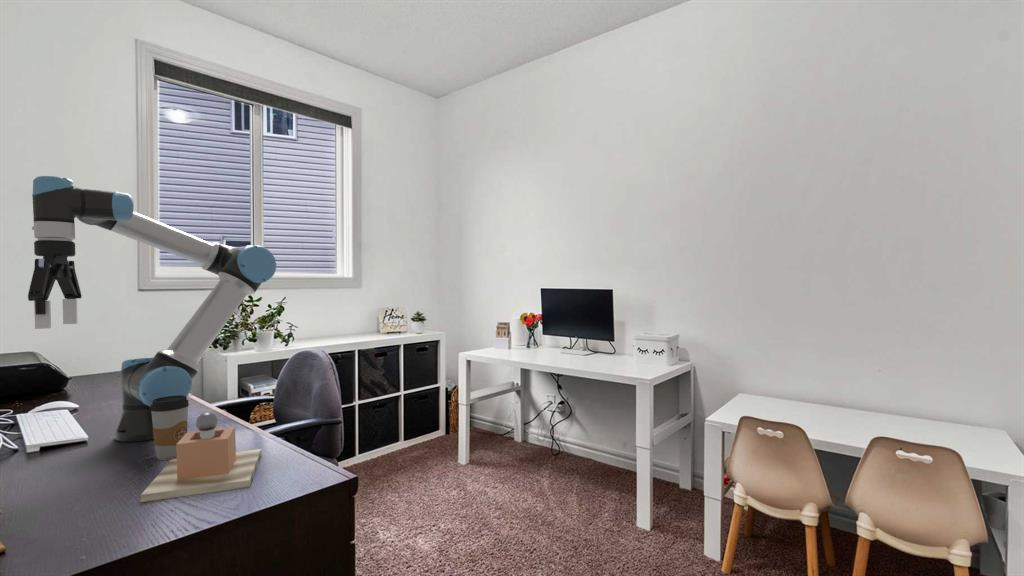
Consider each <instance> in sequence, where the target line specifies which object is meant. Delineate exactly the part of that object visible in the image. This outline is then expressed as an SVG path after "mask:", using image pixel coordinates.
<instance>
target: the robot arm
mask: <svg viewBox="0 0 1024 576" xmlns="http://www.w3.org/2000/svg"><path fill="white" fill-rule="evenodd" d="M31 196H32V214H33V215H32V217H33V226H32V227H31V229H32V230H33V235H34V238H35V239H37V240H35V241H34V243H33V246H34V249H33V250H34V251H33V252H34V255H35V256H37V257H42V258H35V259H34V268H33V273H32V277H31V281H30V285H29V290H28V293H27V294H28V295H27V300H28V302H29V301H30V302H33V307H34V310H33V311H34V329H35V330H37V329H38V330H39V329H40V330H41V329H51V328H52V312H51V310H52V309H51V300H49V297H50V295H51V293H52V289H53V287H54V285H55V283H56V281H57V284H58V286H59V288H60V291H61V292H62V295H63V298H62V322H63V323H62V324H63V325H77V324H78V323H79V322H78V299H82V296H83V295H82V292H81V288H80V284H79V280H78V277H77V276H78V275H77V272H76V266H75V261H74V260H68V257H75V256H76V242H74V241H73V240H76V225H75V224H76V223H75V218H77V220H78V221H79V222H81V223H83V224H85V225H89V226H97V227H99V228H102V229H104V230H108V231H111V232H113V233H116V234H119V235H122V236H124V237H126V238H129V239H133V240H134V241H137V242H140V243H143V244H146V245H147V246H150V247H153V248H155V249H158V250H160V251H164V252H165V253H168V254H171V255H174V256H176V257H179V258H182V259H184V260H188V261H190V262H193V263H195V264H198V265H200V266H201V268H202V270H205V271H208V272H210V273H212V274H215V275H218V278H219V279H218V280H219V281H218V282H217V284H215V286H214V287H213V289H212V290H211V291H210V293H209V294H208V295H207V296H206V298H205V299H204V301H203V302H202V303H201V304H200V306H199V307H198V309H196V311H195V313H194V314H193V315H192V316H191V318H190V319H189V320H188V322H187V323H186V324H185V325H184V327H182V329H181V331H180V332H179V333H178V334H177V336H176V337H175V338H174V339H173V341H172V343H170V345H169V346H168V347H167V348H166V349H163V350H161V349H160V350H158V351H157V353H156V354H155V355H154V356H147V357H139V358H132V359H126V360H123V361H122V363H121V369H120V373H121V398H122V399H121V400H122V401H121V402H122V413H121V416H120V418H119V421H118V424H117V426H116V429H115V440H116V441H117V442H122V443H123V442H125V443H129V442H130V443H133V442H143V441H150V440H154V435H153V422H152V413H151V410H150V409H151V404H152V402H153V400H154V399H157V398H161V397H167V396H178V395H181V396H186V397H187V398H188V396H189V394H190V393H191V391H192V387H193V380H194V378H195V377H196V375H197V374H198V373H199V366H198V363H199V361H200V360H201V359H202V358H203V356H204V355H205V353H206V352H207V351H208V349H209V348H210V346H211V345H212V343H213V342H214V341H215V339H216V338H217V337H218V335H219V334H220V333H221V332H222V330H223V328H224V327H225V325H227V323H228V321H229V320H230V319H231V318H232V317H233V314H234V313H235V312H236V310H237V309H238V307H239V306H240V305H241V304H242V302H243V301H244V299H245V298H246V297H247V296H252V295H255V293H256V291H257V290H258V289H259V288H260V286H261V285H262V284H264V283H266V282H268V281H269V280H271V279H272V278H273V276H274V275H275V273H276V271H277V263H276V262H277V261H276V258H275V256H274V254H273V253H272V252H271V251H270V250H269V249H268V248H266V247H264V246H262V245H255V244H248V245H244V246H230V245H225V244H223V243H220V242H217V241H215V242H209V241H206V240H203V239H201V238H199V237H196V236H195V235H192V234H190V233H187V232H184V231H182V230H179V229H177V228H174V227H173V226H170V225H167V224H165V223H163V222H160V221H159V220H155V219H153V218H150V217H149V216H147V215H146V216H145V215H143V214H140V213H138V212H135V211H134V209H135V208H134V200H133V197H132V195H130V194H129V193H127V192H121V191H109V190H100V189H99V190H98V189H87V188H80V187H75V185H74V181H73V180H72V179H70V178H67V177H61V176H56V175H55V176H53V175H40V176H36V177H35V178H34V179H33V181H32V195H31Z"/></svg>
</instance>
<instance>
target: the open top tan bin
mask: <svg viewBox="0 0 1024 576" xmlns="http://www.w3.org/2000/svg"><path fill="white" fill-rule="evenodd" d="M236 440H237V439H236V426H229V427H216V428H215V438H206V439H200V430H198V429H197V430H189V431H188V430H187V433H186V434H185V435H184V436H183V437H182V438H181V440H180V441H179V442H178V443H177V444H176V451H177V458H176V459H177V480H183V479H190V478H198V477H206V476H213V475H221V474H229V472H230V470H231V468H232V466H233V464H234V462H235V460H236V452H237V447H236V446H237V445H236Z"/></svg>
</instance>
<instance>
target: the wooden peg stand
mask: <svg viewBox="0 0 1024 576" xmlns="http://www.w3.org/2000/svg"><path fill="white" fill-rule="evenodd" d="M218 423H219V419H218V416H217V415H216V414H215V413H214V412H210V411H209V412H204V413H201V414H200V415H199V416H198V417H197V418H196V419H195V426H196V428H197V430H200V439H206V438H215V429H216V428H217V426H218ZM261 454H262V448H257V449H249V450H241V451H240V450H239V451H236V460H235V462H234V464H233V466H232V468H231V470H230V472H229V474H221V475H213V476H206V477H198V478H190V479H183V480H177V458H175V459H170V460H169V462H168V463H167V464H166V465H165V466H164V467H163V469H161V471H160V472H159V473H158V474H157V475H156V477H155V478H154V479H153V480H152V481H151V482H150V483H149V485H148V486H147V487H146V488H145V490H144V491H143V492H142V493H141V494H140V503H145V502H151V501H159V500H165V499H171V498H173V499H174V498H178V497H179V498H180V497H186V496H194V495H200V494H201V495H202V494H208V493H216V492H222V491H230V490H237V489H243V488H250V487H251V486H252V485H251V484H252V482H253V479H254V476H255V473H256V471H257V468H258V465H259V462H260V460H261V458H262V455H261Z"/></svg>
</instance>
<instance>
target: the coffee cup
mask: <svg viewBox="0 0 1024 576" xmlns="http://www.w3.org/2000/svg"><path fill="white" fill-rule="evenodd" d="M189 405H190V404H189V399H188V396H187V397H186V396H181V395H178V396H167V397H161V398H157V399H154V400H153V402H152V404H151V409H150V410H151V413H152V422H153V435H154V439H153V441H154V442H153V443H154V445H153V446H154V447H155V448H154V450H155V457H156V458H157V460H160V461H170V460H171V459H177V451H176V444H177V443H178V442H179V441H180V440H181V438H182V437H183V436H184V435H185V434H186V433H187V432H188V425H189V424H188V423H189V422H188V417H189V416H188V414H189Z"/></svg>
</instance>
